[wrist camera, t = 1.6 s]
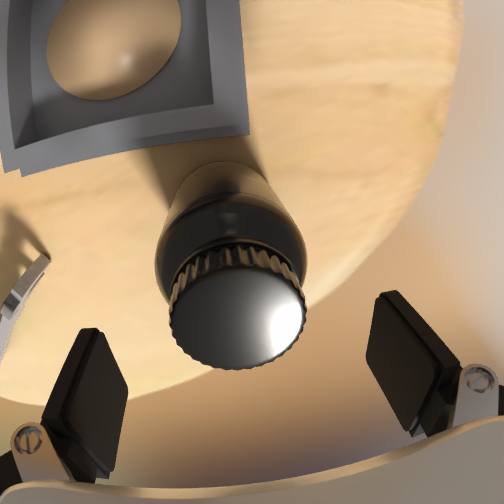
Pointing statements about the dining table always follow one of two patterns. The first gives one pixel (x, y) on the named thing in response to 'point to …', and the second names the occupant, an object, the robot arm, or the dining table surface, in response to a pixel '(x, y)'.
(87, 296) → the dining table surface
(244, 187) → the supplement bottle
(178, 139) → the housing
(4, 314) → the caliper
